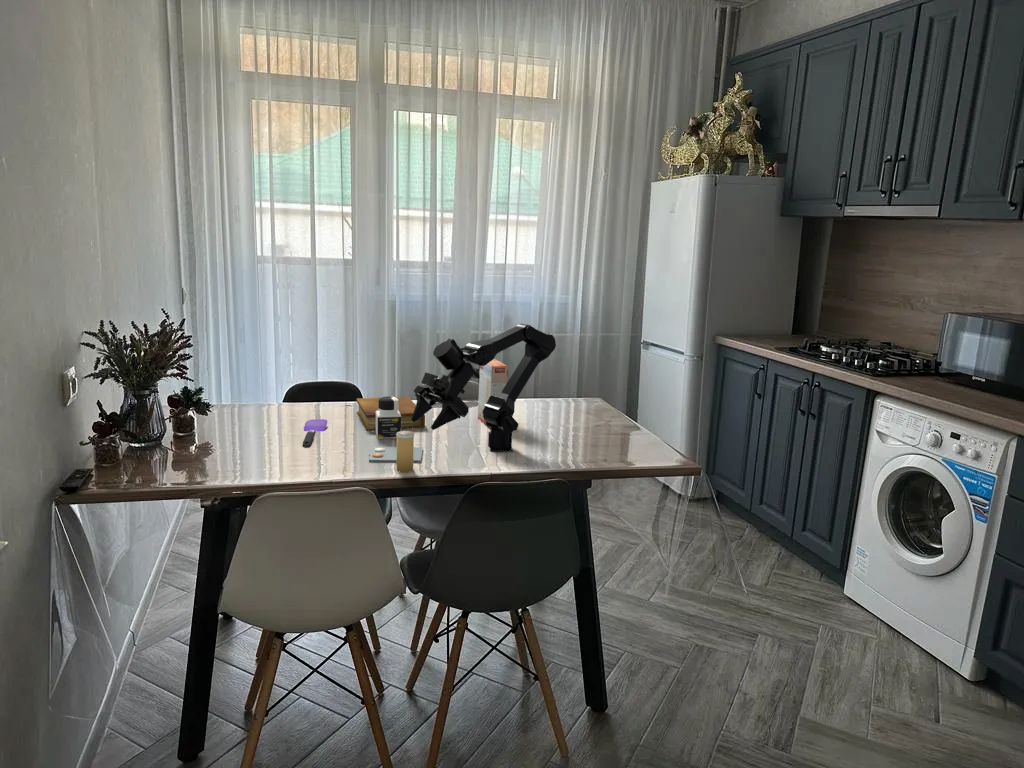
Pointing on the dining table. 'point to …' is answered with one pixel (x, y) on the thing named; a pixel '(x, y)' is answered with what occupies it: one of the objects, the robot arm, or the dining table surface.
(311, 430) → the spatula
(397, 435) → the amber cup
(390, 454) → the card
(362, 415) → the diary
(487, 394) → the cracker box
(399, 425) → the medicine bottle
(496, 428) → the robot arm
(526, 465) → the dining table surface
